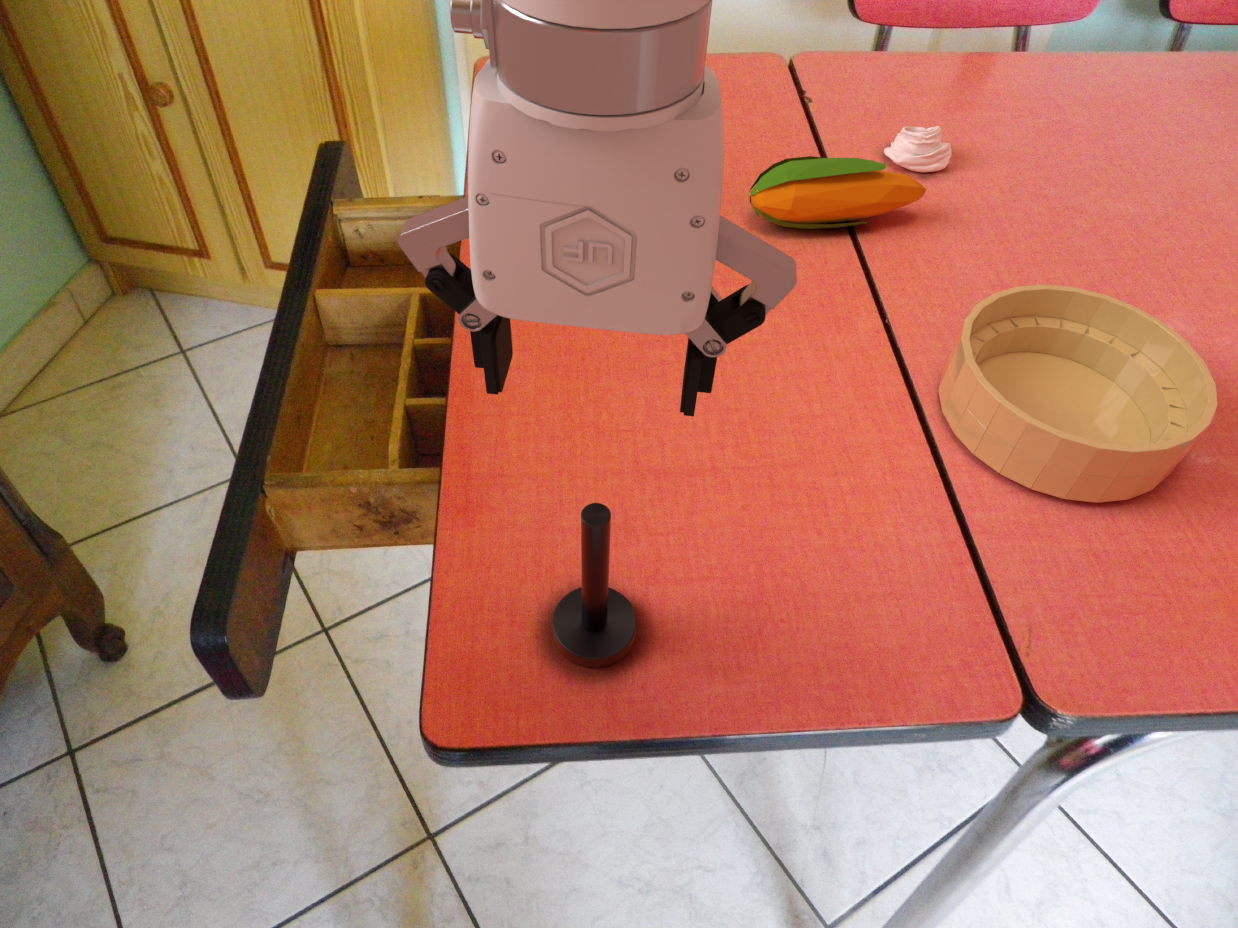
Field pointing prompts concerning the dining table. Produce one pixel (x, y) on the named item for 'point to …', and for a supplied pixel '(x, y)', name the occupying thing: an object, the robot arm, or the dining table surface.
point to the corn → (829, 191)
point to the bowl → (1075, 392)
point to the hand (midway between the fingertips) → (593, 385)
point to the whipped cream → (920, 149)
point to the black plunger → (594, 602)
